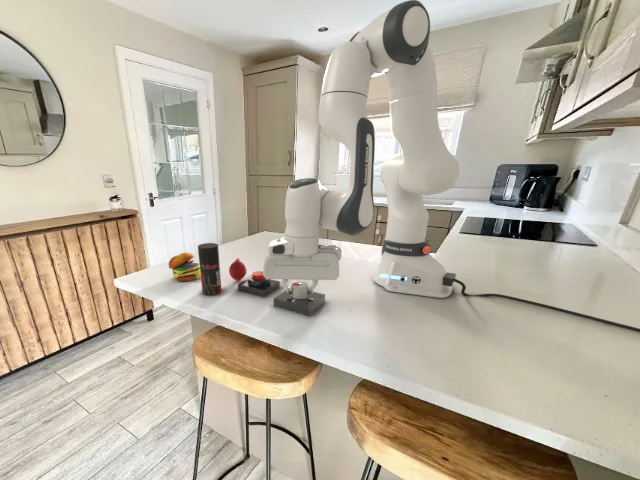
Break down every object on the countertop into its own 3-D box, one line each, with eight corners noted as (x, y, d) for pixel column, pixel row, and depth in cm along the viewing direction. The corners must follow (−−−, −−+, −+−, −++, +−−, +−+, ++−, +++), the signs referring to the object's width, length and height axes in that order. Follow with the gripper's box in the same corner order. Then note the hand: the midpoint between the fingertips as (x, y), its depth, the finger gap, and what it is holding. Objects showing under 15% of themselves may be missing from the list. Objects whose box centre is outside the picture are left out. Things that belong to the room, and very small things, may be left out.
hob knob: (307, 293, 88) (307, 280, 86) (308, 299, 84) (308, 286, 82) (291, 292, 88) (291, 280, 86) (291, 299, 84) (292, 286, 82)
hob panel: (324, 302, 88) (325, 293, 86) (309, 316, 80) (309, 307, 79) (291, 294, 93) (291, 286, 92) (273, 306, 86) (273, 297, 85)
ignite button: (267, 277, 97) (267, 272, 96) (260, 281, 94) (260, 276, 93) (257, 275, 99) (257, 270, 98) (249, 279, 96) (249, 274, 95)
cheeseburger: (193, 283, 102) (183, 255, 99) (168, 287, 107) (158, 260, 104) (208, 273, 111) (200, 247, 108) (185, 277, 116) (176, 251, 113)
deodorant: (218, 296, 93) (214, 248, 87) (199, 295, 94) (194, 248, 88) (223, 288, 98) (220, 243, 93) (205, 288, 99) (201, 242, 93)
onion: (244, 284, 101) (243, 261, 98) (227, 283, 102) (226, 260, 99) (248, 278, 107) (247, 256, 103) (232, 277, 108) (231, 255, 105)
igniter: (279, 287, 98) (279, 276, 97) (264, 297, 92) (264, 285, 90) (254, 281, 104) (254, 270, 102) (237, 290, 97) (237, 278, 95)
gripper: (340, 241, 82) (336, 289, 87) (263, 241, 84) (264, 288, 89) (344, 248, 76) (339, 298, 81) (262, 247, 78) (262, 297, 84)
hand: (299, 293), depth 85 cm, fingers closed on hob knob, 4 cm apart
